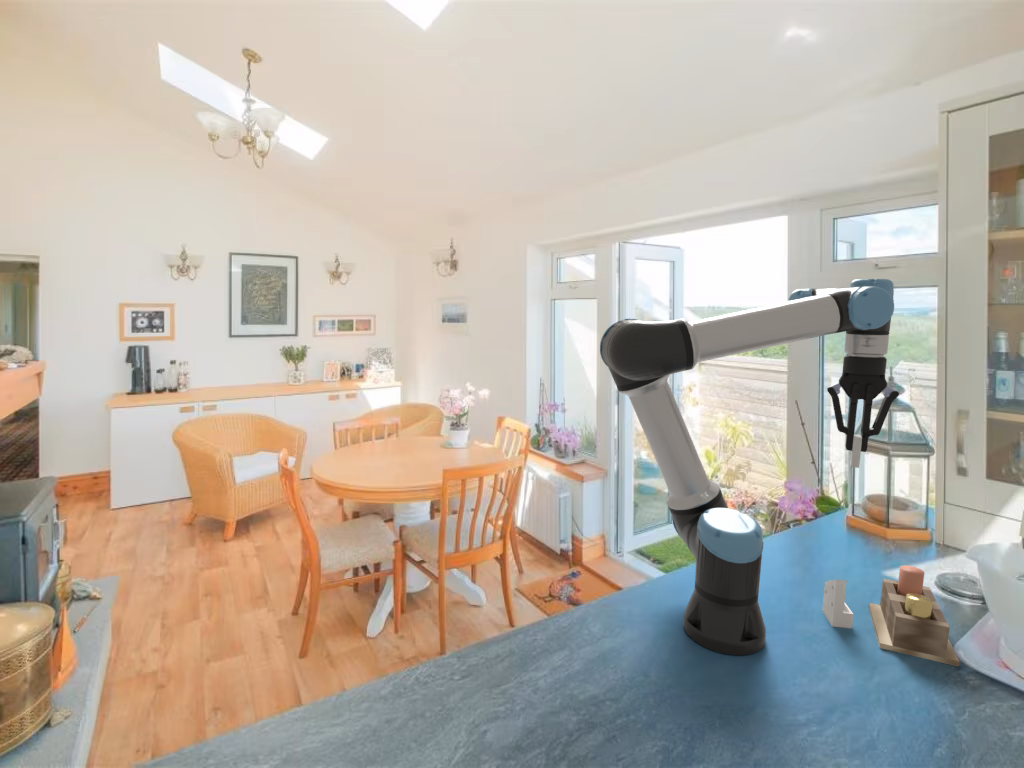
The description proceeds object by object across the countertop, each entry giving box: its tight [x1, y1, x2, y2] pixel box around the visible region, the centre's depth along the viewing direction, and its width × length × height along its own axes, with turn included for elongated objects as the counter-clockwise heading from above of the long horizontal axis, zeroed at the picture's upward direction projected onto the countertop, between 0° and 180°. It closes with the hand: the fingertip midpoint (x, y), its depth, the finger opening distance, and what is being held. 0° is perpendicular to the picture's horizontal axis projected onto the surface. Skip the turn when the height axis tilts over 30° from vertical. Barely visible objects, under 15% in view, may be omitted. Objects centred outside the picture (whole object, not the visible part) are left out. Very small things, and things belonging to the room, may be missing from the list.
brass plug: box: [904, 593, 933, 619], centre depth 105 cm, size 4×4×8 cm
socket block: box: [868, 578, 960, 667], centre depth 108 cm, size 12×16×7 cm
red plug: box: [897, 565, 925, 596], centre depth 111 cm, size 4×4×8 cm
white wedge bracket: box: [821, 579, 854, 629], centre depth 113 cm, size 4×10×9 cm, turn 169°
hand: (854, 465), depth 117 cm, fingers closed
